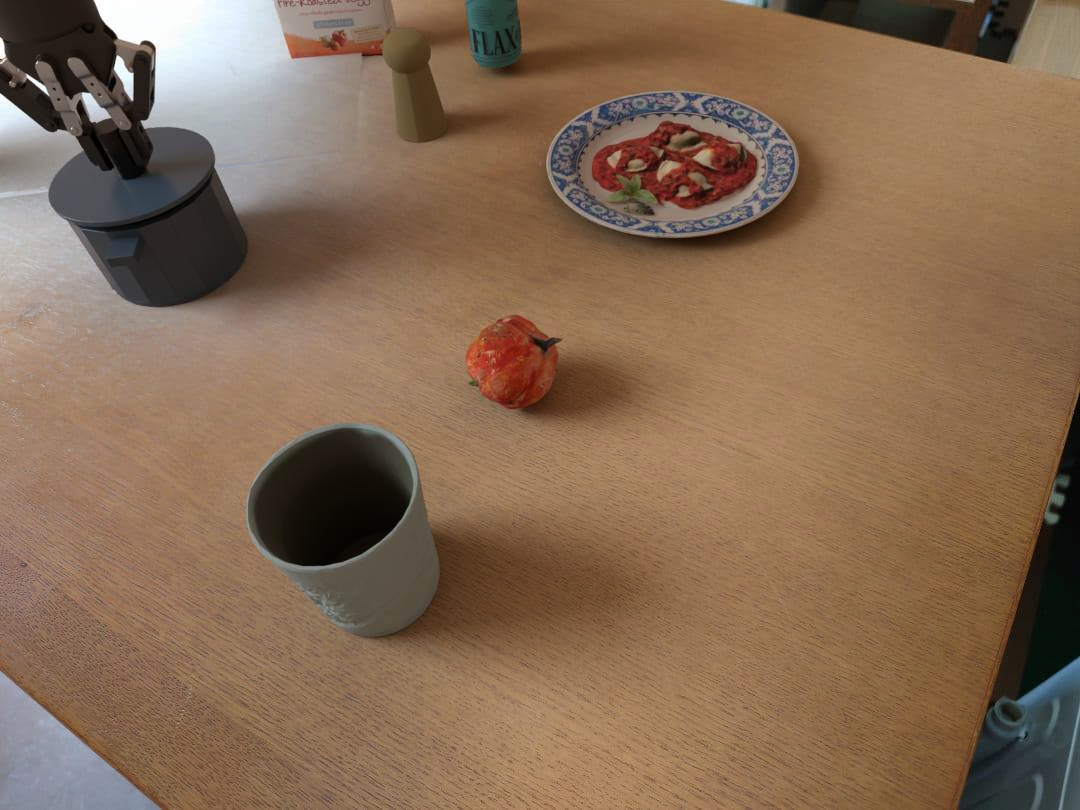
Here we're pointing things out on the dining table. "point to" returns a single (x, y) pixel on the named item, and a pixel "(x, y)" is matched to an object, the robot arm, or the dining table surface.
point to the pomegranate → (512, 362)
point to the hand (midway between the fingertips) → (126, 162)
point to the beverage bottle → (494, 32)
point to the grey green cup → (348, 526)
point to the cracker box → (335, 26)
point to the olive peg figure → (414, 86)
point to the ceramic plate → (672, 164)
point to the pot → (171, 249)
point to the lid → (131, 177)
